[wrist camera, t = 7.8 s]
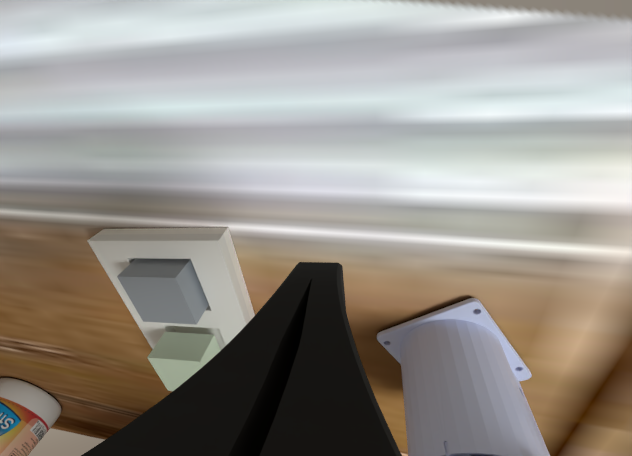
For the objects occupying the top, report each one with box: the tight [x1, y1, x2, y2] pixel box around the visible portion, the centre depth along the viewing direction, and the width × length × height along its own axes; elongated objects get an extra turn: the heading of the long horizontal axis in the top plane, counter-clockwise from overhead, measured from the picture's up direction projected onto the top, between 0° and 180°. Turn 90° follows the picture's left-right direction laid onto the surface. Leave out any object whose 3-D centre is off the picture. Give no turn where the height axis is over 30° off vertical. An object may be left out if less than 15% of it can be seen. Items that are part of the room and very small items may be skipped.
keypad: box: [88, 227, 255, 350], centre depth 27 cm, size 22×10×2 cm, turn 6°
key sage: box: [147, 332, 221, 391], centre depth 25 cm, size 4×4×2 cm
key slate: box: [117, 258, 209, 325], centre depth 22 cm, size 4×4×2 cm
